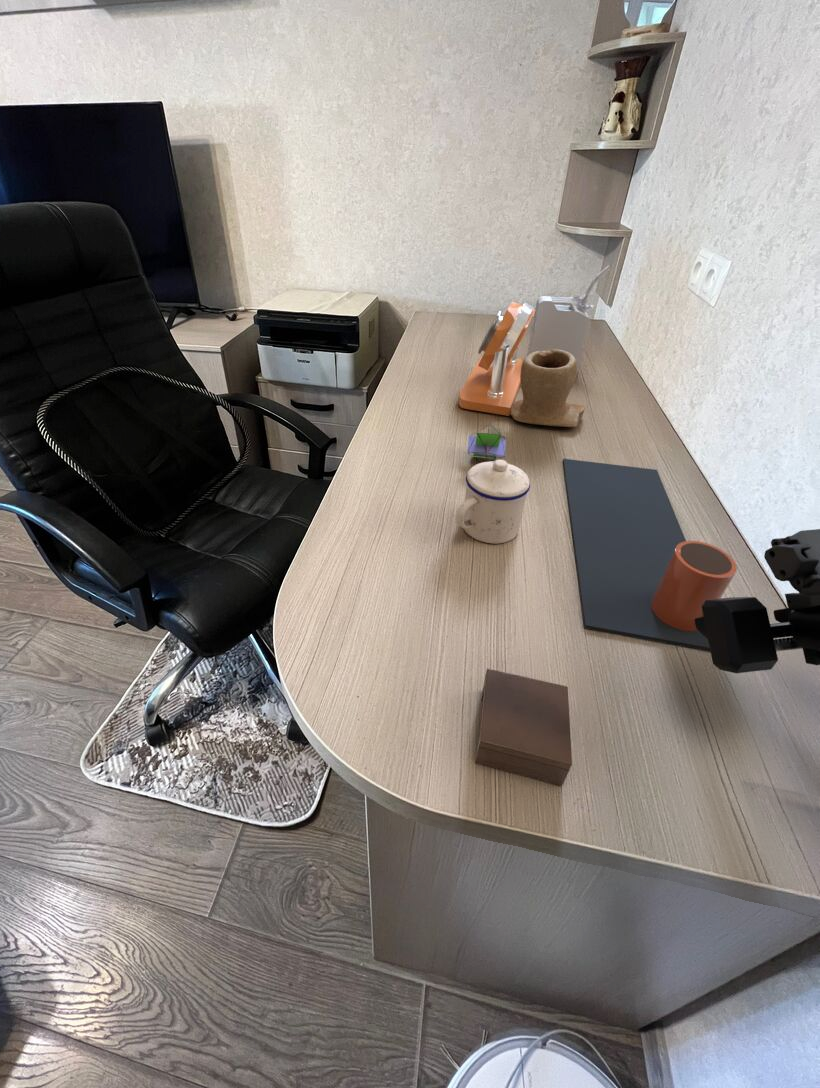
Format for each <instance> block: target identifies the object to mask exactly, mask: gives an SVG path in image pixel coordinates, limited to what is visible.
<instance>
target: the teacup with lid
mask: <svg viewBox="0 0 820 1088" xmlns="http://www.w3.org/2000/svg"><path fill="white" fill-rule="evenodd" d="M465 482H466V486H465V492H464V493H465V494H464V501H462V503H461V504H460V505H459V507H458V508H457V510H456V514H455V521H456V523H457V525H458V526H459V527H460V528H462V529H463V530H464V531H465V533H467V535H469V536H470V537H471V538H473V539H475V540H477V541H479V542H482V543H485V544H492V545H493V544H503V543H507V542H508V543H509V542H510V541H512V540H513V539H514V538H516V537H517V535H518V533H519V531H520V527H521V522H522V517H523V512H524V507H525V504H526V499H527V495H528V492H529V491H530V489H531V483H530V479H529V477H528V475H527V473H526V472H525V471H523V470H522V469H521V468H519V467H517V466H515V465H513V464H511V463H508V461H506V460H505V459H495V460H493V461H492V460H491V461H486V462H485V461H484V462H478V463H476V464H475V465H473V466H472V467H471V468H470V469H469V470H468V471H467V473H466V475H465Z"/></svg>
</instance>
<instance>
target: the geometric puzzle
mask: <svg viewBox="0 0 820 1088" xmlns="http://www.w3.org/2000/svg"><path fill="white" fill-rule="evenodd" d="M486 427H488V429H487V432H485V433H484V432H481V431H482V430H483V429H485V428H486ZM506 450H507V438H506V436H505V435H504V434H503V432H502V431H501V429H500V428H498V427H496V426H494V425H491V424H489V423H488V424H487V425H486V426H485V427H482V429H479V431H476V432H475V431H474V432H472V433H471V434H468V443H467V451H466V453H467V454H468V455H470V456H472V457H473V458H474V459H475V461H477V457H478V458H480V457H481V458H484V462H487V458H488V459H489V458H490V459H492V460H491V461H493V462H494V460H497V457H498V459H502V458H506Z"/></svg>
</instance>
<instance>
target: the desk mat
mask: <svg viewBox="0 0 820 1088" xmlns="http://www.w3.org/2000/svg"><path fill="white" fill-rule="evenodd" d="M562 466H563V473H564V481H565V488H566V489H565V490H566V496H567V504H568V505H567V506H568V514H569V519H570V529H571V535H572V536H571V537H572V543H573V550H574V551H573V553H574V558H575V559H574V560H575V565H576V574H577V582H578V589H579V590H578V591H579V597H580V604H581V612H582V620H583V628H584V629H586V630H592V631H597V632H602V633H603V632H604V633H609V634H613V635H620V636H624V637H631V638H634V639H635V638H636V639H641V640H647V641H653V642H658V643H663V644H668V645H674V646H680V647H685V648H690V649H697V650H700V651H701V650H702V651H708V652H711V651H710V646H709V642H708V639H707V638H706V637H705V636H704V635H702V634H701V633H700V632H699V631H682V630H679V629H676V628H673V627H671V626H669V625H667V624H666V623H664V622H663V621H661V620H660V619H659V618H658V617H657V616H656V615H655V613H654V612H653V610H652V608H651V600H652V598H653V595H654V593H655V591H656V589H657V587H658V585H659V582H660V580H661V578H662V576H663V574H664V572H665V569H666V567H667V565H668V563H669V561H670V559H671V556H672V554H673V552H674V550H675V548H676V546H677V545H678V544H679V543H681V542H685V541H687V540H686V537H685V535H684V532H683V530H682V527H681V525H680V522H679V520H678V518H677V515H676V512H675V510H674V508H673V505H672V503H671V501H670V498H669V496H668V493H667V491H666V489H665V486H664V484H663V481H662V478H661V477H660V474H659V472H658V469H655V468H645V467H637V466H629V465H621V464H611V463H605V462H595V461H587V460H578V459H572V458H563V459H562Z"/></svg>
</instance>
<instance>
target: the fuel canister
mask: <svg viewBox="0 0 820 1088" xmlns="http://www.w3.org/2000/svg"><path fill="white" fill-rule="evenodd" d="M610 270H612V267H611V266H610V265H607V266H606V267H604V268H603V269H602V270H601V271H600V272H599V273H597V274H596V275H595V276H594V278H593V279H592V280H591V281H590V283H589V286H588V287H587V289H586V290H585V293H582V294H580V295H577V296H576V295H573V296H571V297H565V296H564V297H561V296H549V295H540V296H539V297H538V298H537V300H536V303H535V309H534V310H536V311H535V313H534V315H533V318H532V324H531V331H530V335H529V341H528V347H527V351H526V357H527V356H528V355H529V354H531V353H533V352H535V351H548V350H552V349H559V350H563V351H566V352H568V353H570V354H572V355H573V356H574V358H575V359H576V363H577V372H579V370H580V365H581V362H582V358H583V353H584V351H585V345H586V342H587V338H588V333H589V330H590V326H591V321H592V319H591V318H590V316H589V315H588V313H587V310H589V309H592V308H594V307H595V305H593V304H590V303H588V302H589V301H588V300H589V297H590V294H591V292H592V291H593V289H594V286H595V285H596V283H597V282H598V281H600V280H601V279H602V278H603V276H605V275H606V274H607V273H608V272H609V271H610ZM573 301H575V302H576V304H575V305H574V302H573Z"/></svg>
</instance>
